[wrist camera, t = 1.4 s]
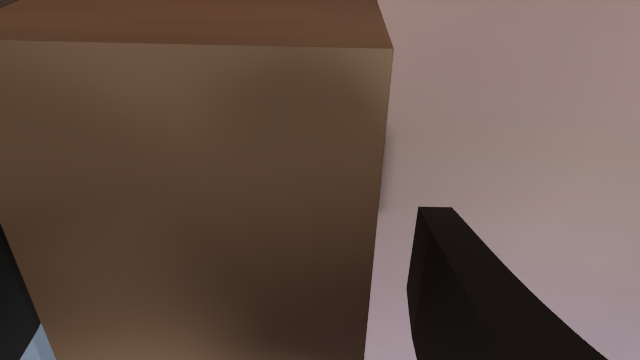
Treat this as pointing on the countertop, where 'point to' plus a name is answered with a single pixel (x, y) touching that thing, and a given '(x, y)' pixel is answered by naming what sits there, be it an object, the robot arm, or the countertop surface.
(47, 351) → the plan board
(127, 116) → the walnut brick
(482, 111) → the countertop surface
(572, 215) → the countertop surface
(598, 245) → the countertop surface
